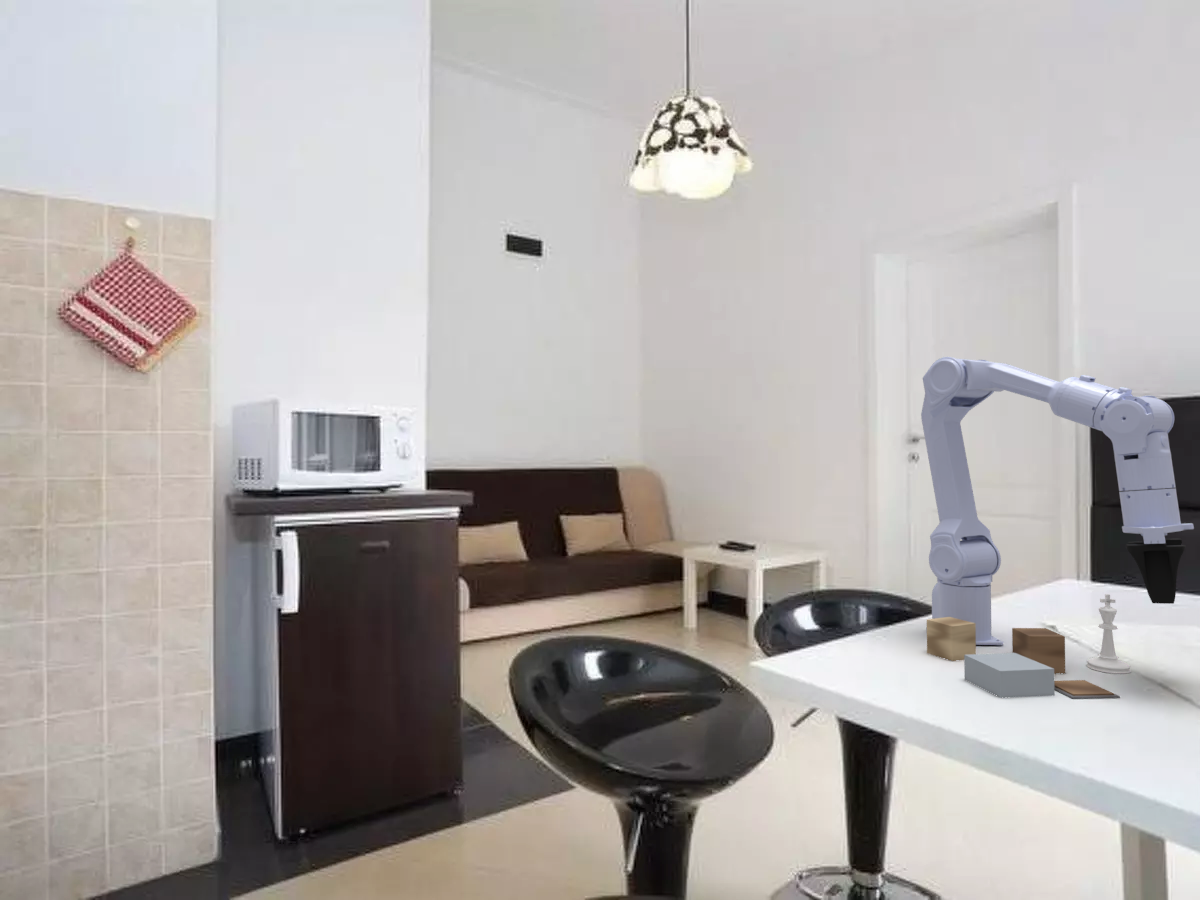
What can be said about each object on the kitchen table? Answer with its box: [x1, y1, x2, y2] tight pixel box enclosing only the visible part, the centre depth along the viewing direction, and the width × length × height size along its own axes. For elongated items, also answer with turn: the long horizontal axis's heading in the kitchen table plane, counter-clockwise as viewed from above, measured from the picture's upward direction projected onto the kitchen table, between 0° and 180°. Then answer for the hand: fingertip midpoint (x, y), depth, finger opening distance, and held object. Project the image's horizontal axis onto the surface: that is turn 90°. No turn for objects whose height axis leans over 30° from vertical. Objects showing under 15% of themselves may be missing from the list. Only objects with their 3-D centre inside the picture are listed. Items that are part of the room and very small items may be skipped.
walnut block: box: [1011, 627, 1066, 675], centre depth 97 cm, size 4×4×5 cm
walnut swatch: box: [1054, 679, 1121, 700], centre depth 88 cm, size 6×6×1 cm
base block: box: [963, 652, 1056, 699], centre depth 89 cm, size 7×7×4 cm
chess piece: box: [1085, 593, 1132, 675], centre depth 97 cm, size 5×5×10 cm
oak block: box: [926, 617, 977, 662], centre depth 103 cm, size 4×4×5 cm
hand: (1162, 599), depth 89 cm, fingers open, 7 cm apart
